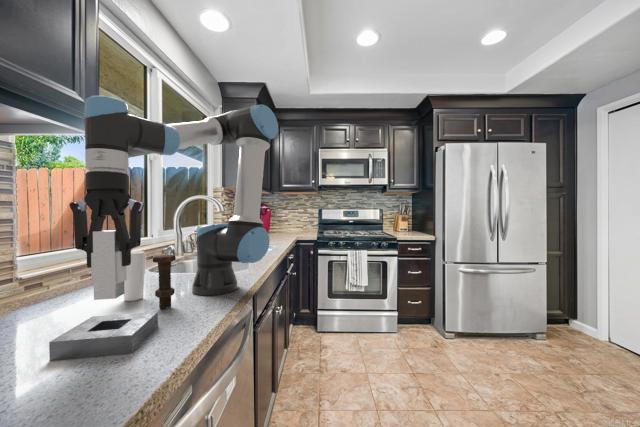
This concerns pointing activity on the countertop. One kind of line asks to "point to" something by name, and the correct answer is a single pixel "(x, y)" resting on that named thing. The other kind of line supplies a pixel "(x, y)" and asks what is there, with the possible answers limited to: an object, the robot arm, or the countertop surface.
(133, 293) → the drinking glass
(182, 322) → the countertop surface
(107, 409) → the countertop surface
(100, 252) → the peg
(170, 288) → the bolt
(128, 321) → the socket block
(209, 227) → the robot arm
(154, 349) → the countertop surface
